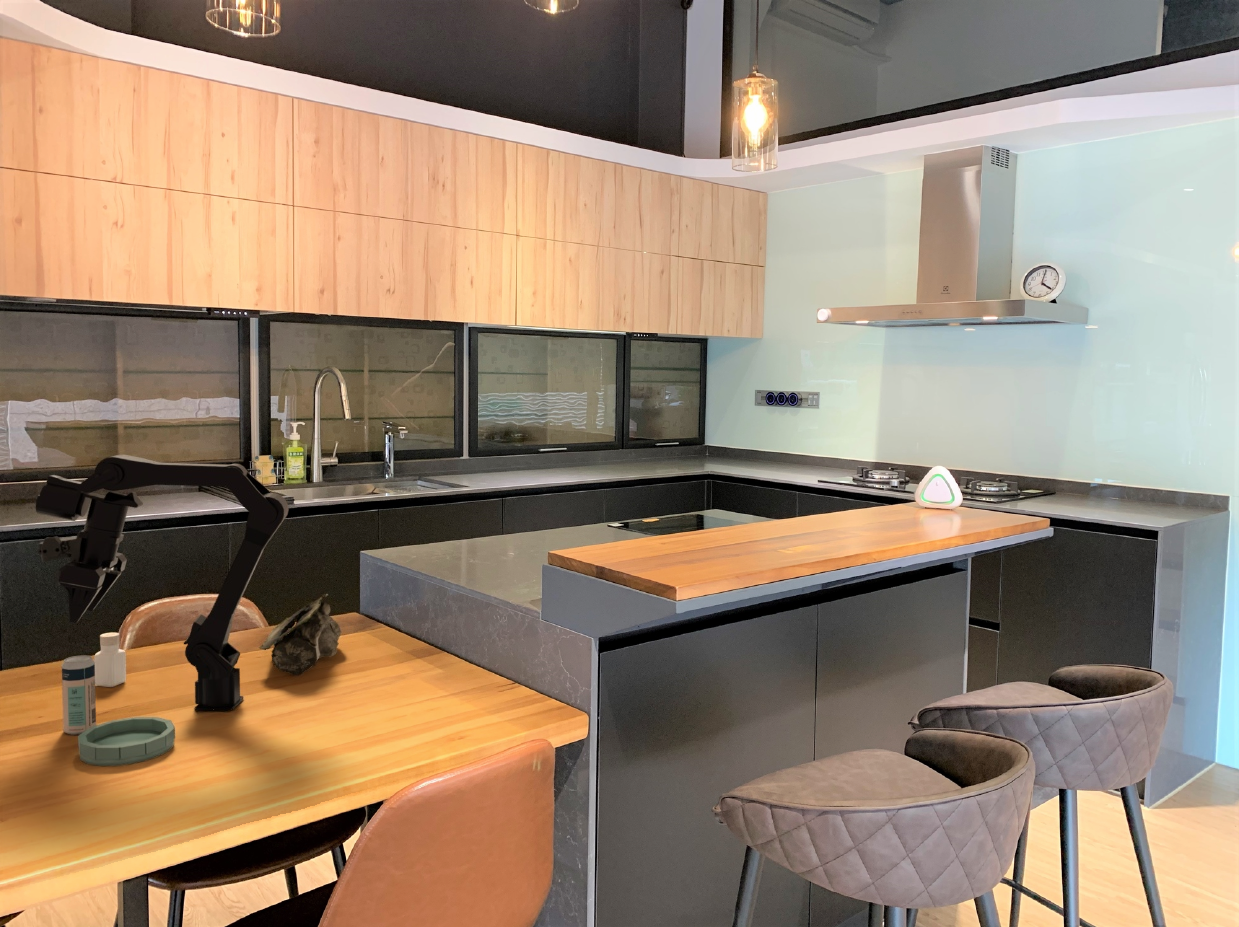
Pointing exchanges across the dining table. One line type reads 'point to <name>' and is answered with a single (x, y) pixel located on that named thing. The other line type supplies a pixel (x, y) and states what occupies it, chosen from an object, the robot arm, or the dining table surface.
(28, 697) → the dining table surface
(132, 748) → the bowl
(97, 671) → the pepper shaker
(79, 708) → the beer can
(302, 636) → the driftwood piece
